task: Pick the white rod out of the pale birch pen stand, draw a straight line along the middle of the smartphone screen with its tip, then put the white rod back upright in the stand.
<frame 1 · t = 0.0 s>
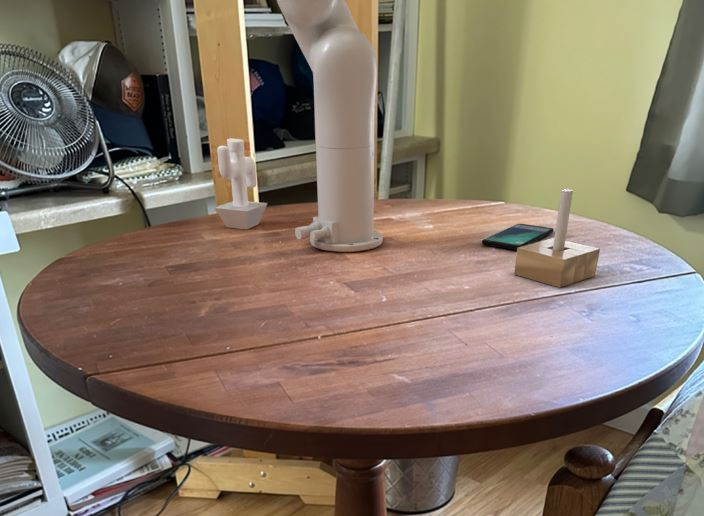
white rod: (560, 234, 101), in the pen stand
figurine: (242, 226, 133), on the table
smartphone: (518, 239, 122), on the table
pen stand: (554, 275, 105), on the table
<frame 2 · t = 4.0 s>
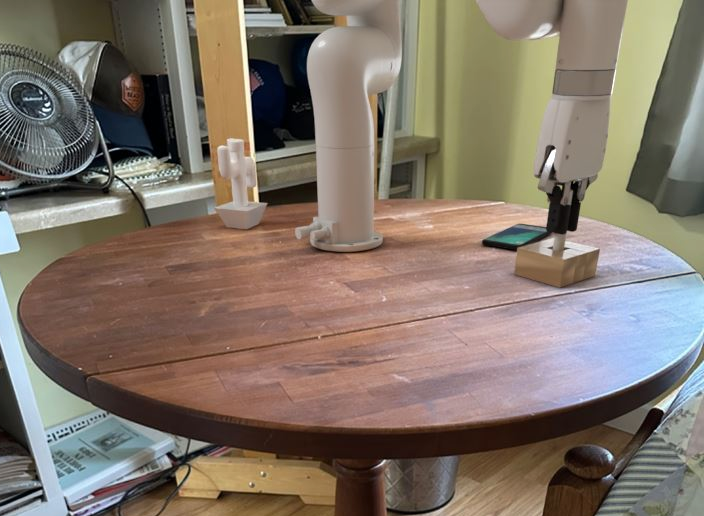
hand: (561, 230, 101), 7 cm above the table, tool pointing down, fingers closed on white rod, 1 cm apart
white rod: (560, 234, 101), in the pen stand, touching gripper
everything else where it was.
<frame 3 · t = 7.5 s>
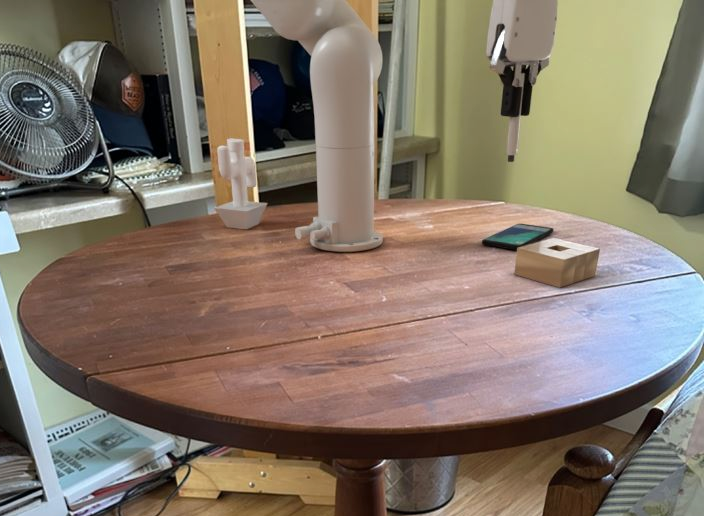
hand: (514, 114, 106), 20 cm above the table, tool pointing down, fingers closed on white rod, 1 cm apart
white rod: (514, 118, 107), point 20 cm above the table, touching gripper
everything else where it was.
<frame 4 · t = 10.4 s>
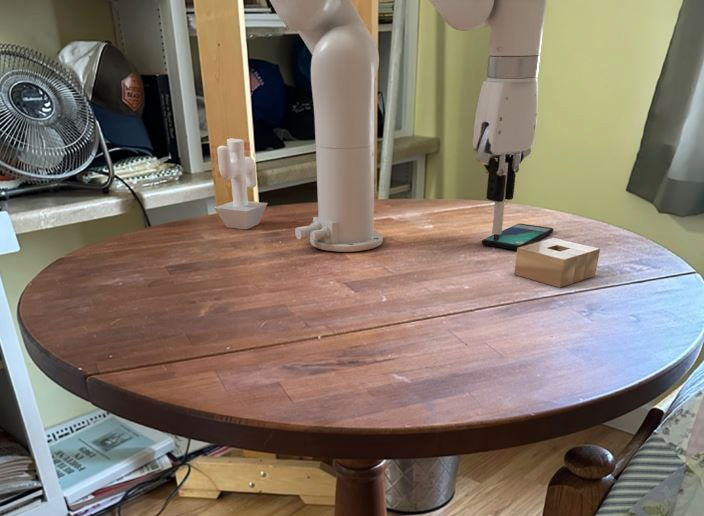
hand: (499, 198, 115), 8 cm above the table, tool pointing down, fingers closed on white rod, 1 cm apart
white rod: (499, 202, 115), point 7 cm above the table, touching gripper
everything else where it was.
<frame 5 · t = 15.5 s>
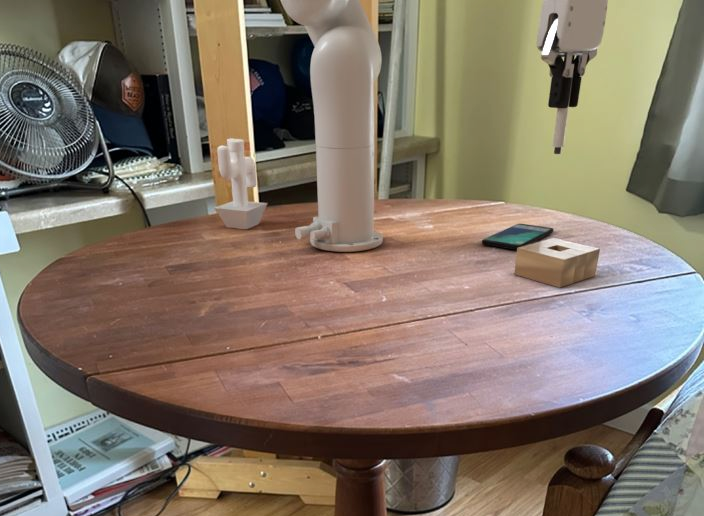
hand: (562, 106, 105), 21 cm above the table, tool pointing down, fingers closed on white rod, 1 cm apart
white rod: (562, 110, 105), point 21 cm above the table, touching gripper
everything else where it was.
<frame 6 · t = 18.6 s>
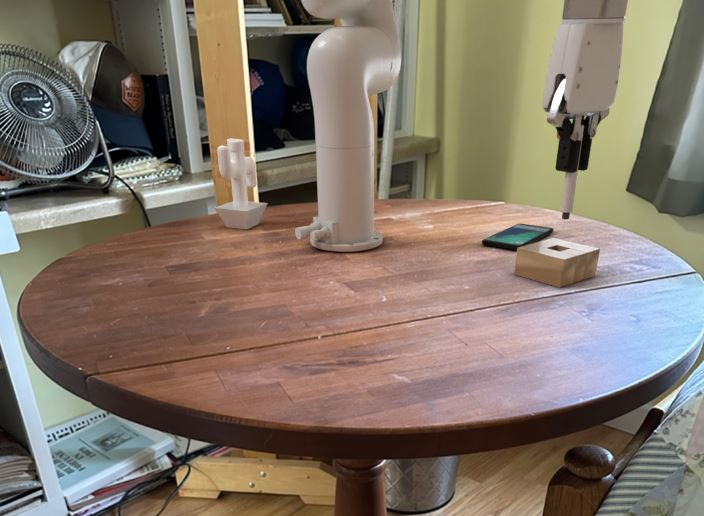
hand: (571, 169, 97), 15 cm above the table, tool pointing down, fingers closed on white rod, 1 cm apart
white rod: (571, 173, 97), point 14 cm above the table, touching gripper
everything else where it was.
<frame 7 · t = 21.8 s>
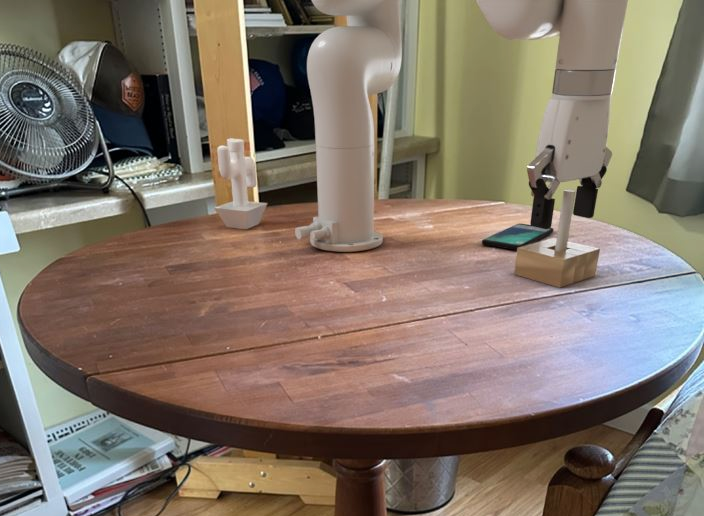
hand: (562, 221, 100), 8 cm above the table, tool pointing down, fingers open, 9 cm apart
white rod: (562, 234, 101), in the pen stand
everything else where it was.
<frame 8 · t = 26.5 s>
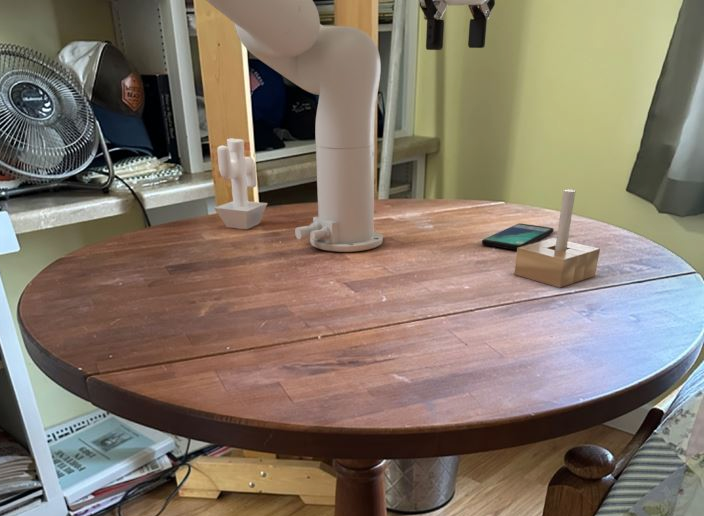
hand: (455, 48, 114), 28 cm above the table, tool pointing down, fingers open, 9 cm apart
nothing on the table moved.
at the end: white rod 0.4 cm off-centre in the pen stand, point 6.0 cm above the pen stand's base; white rod tilted 0°; smartphone moved 0.0 cm from its start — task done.
